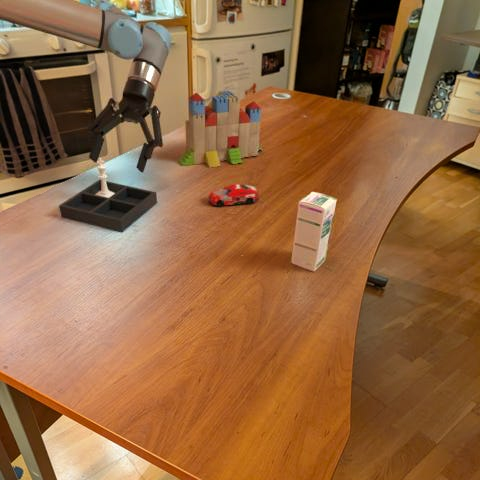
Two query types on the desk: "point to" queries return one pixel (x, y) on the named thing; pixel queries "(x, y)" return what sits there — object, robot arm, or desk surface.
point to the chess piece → (103, 180)
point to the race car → (234, 195)
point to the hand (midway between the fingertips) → (115, 165)
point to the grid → (109, 206)
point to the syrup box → (313, 230)
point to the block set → (221, 130)
